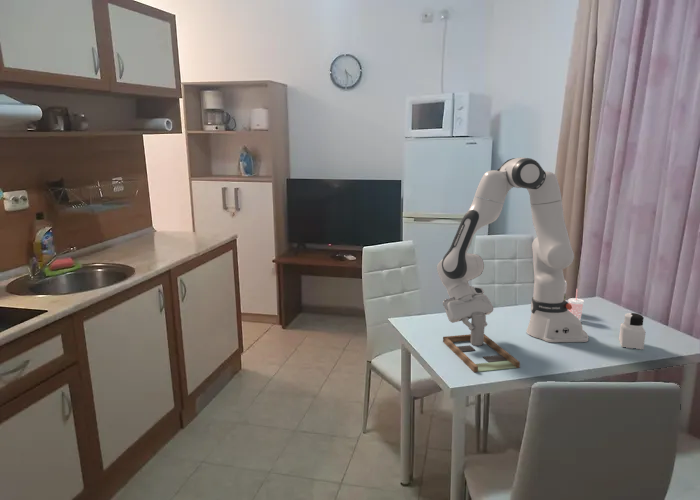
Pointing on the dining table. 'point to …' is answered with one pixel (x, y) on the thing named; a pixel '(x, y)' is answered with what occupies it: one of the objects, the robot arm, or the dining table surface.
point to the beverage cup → (576, 306)
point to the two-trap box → (494, 361)
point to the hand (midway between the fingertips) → (479, 327)
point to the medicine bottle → (632, 331)
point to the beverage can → (478, 328)
